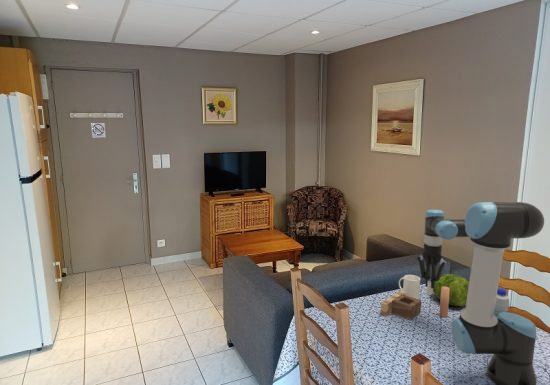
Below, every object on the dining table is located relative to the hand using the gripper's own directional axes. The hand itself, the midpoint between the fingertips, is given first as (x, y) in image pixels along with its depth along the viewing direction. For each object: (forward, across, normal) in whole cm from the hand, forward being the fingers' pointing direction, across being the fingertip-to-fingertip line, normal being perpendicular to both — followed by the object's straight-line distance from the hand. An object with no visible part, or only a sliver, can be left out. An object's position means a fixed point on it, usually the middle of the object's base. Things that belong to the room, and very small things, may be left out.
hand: (429, 293), depth 180 cm
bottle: (+14, -26, -11) cm, 31 cm away
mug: (+13, +18, -18) cm, 28 cm away
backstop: (+13, +17, 0) cm, 22 cm away
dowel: (+13, -3, -10) cm, 17 cm away
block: (+13, +11, 0) cm, 17 cm away
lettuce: (+13, +1, -28) cm, 31 cm away
